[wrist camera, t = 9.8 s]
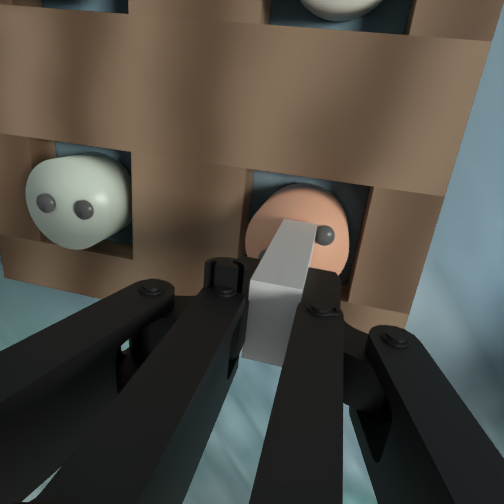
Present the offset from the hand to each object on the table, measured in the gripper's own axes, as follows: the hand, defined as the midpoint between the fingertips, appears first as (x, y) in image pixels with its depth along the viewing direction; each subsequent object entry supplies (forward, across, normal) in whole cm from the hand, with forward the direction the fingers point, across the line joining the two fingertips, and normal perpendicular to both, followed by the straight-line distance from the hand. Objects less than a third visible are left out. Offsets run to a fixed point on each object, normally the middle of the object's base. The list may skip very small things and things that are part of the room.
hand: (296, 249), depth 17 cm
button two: (+3, -12, 0) cm, 13 cm away
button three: (+3, 0, 0) cm, 3 cm away
